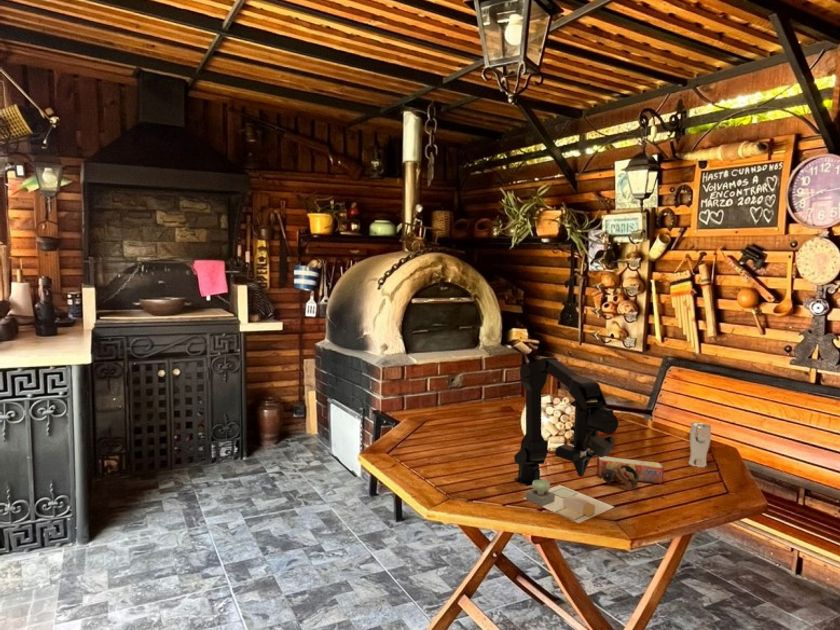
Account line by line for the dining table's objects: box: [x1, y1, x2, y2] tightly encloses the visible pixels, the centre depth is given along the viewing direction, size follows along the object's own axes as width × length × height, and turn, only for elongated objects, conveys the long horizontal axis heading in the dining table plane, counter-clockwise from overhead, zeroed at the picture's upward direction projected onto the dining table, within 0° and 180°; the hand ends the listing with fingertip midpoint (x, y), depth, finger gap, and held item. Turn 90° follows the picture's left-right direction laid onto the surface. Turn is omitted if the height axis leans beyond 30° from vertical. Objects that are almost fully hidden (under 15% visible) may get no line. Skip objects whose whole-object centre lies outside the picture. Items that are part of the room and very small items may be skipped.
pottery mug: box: [600, 464, 639, 492], centre depth 192 cm, size 12×10×8 cm
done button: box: [531, 479, 551, 496], centre depth 177 cm, size 5×5×4 cm
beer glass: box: [688, 422, 712, 468], centre depth 215 cm, size 7×7×15 cm
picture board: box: [523, 484, 614, 524], centre depth 177 cm, size 20×18×1 cm
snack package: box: [596, 455, 665, 485], centre depth 200 cm, size 21×7×7 cm, turn 78°
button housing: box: [525, 488, 555, 507], centre depth 178 cm, size 6×6×3 cm
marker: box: [563, 494, 595, 516], centre depth 172 cm, size 9×3×3 cm, turn 40°
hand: (580, 476), depth 171 cm, fingers closed
